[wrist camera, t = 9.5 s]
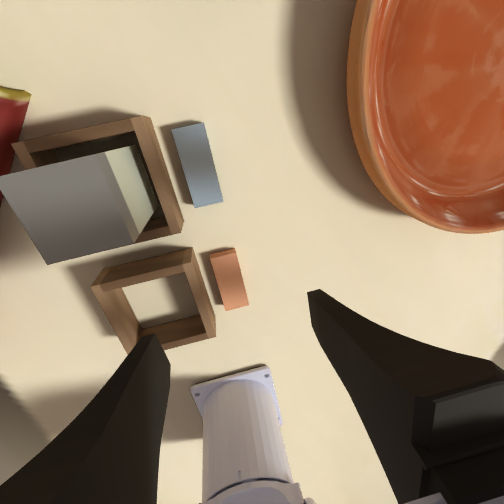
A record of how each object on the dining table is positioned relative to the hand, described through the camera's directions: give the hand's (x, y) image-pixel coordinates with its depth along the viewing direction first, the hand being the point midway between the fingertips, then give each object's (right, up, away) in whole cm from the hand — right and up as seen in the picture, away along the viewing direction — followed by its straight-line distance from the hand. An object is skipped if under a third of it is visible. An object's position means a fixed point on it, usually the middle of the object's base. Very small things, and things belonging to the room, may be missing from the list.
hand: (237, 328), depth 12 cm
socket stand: (-6, +4, +7) cm, 10 cm away
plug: (-8, +8, +5) cm, 13 cm away
